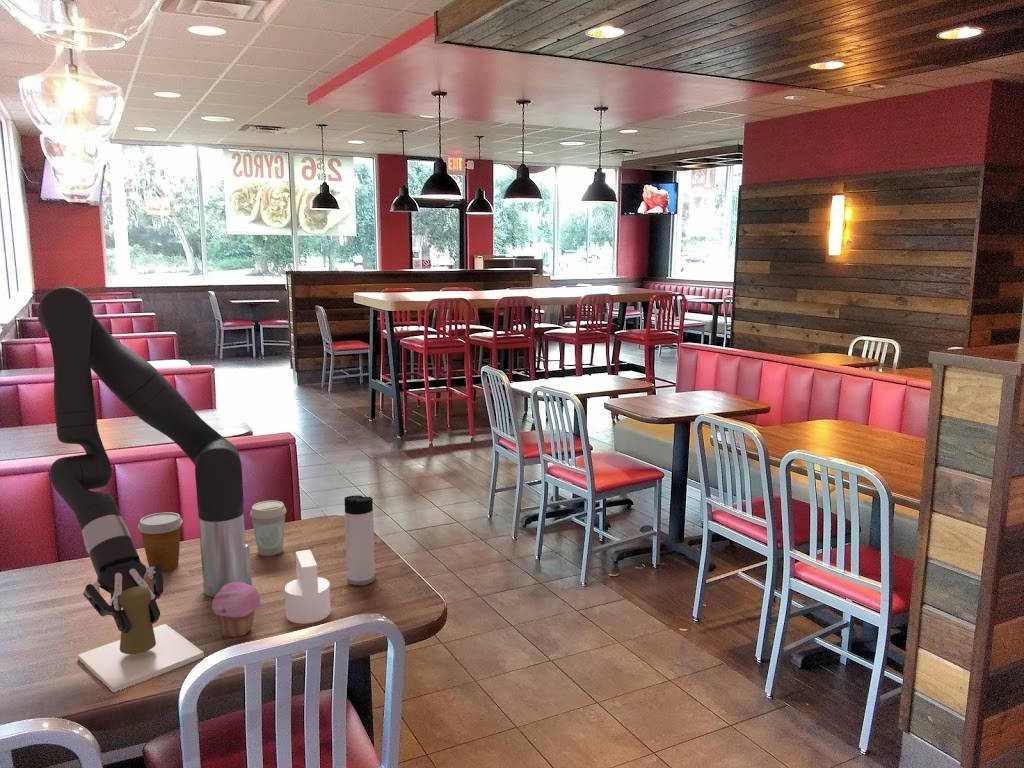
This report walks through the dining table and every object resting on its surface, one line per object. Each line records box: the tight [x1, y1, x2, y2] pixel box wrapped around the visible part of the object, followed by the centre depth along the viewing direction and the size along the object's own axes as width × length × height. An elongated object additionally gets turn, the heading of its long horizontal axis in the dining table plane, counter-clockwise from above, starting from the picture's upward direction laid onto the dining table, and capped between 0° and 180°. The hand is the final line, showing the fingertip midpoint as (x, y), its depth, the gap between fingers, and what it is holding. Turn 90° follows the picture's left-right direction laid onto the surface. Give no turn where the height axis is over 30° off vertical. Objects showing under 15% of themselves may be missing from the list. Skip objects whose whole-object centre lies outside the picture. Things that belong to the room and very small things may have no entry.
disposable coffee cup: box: [137, 511, 184, 573], centre depth 183 cm, size 10×10×12 cm
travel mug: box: [343, 495, 376, 586], centre depth 175 cm, size 6×7×20 cm
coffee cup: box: [249, 500, 287, 557], centre depth 192 cm, size 9×8×12 cm
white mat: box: [77, 623, 205, 693], centre depth 143 cm, size 16×16×1 cm
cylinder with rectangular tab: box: [284, 549, 332, 624], centre depth 160 cm, size 9×9×12 cm
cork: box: [119, 586, 156, 654], centre depth 142 cm, size 6×6×11 cm
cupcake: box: [211, 582, 261, 638], centre depth 152 cm, size 9×9×10 cm
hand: (141, 625), depth 141 cm, fingers closed on cork, 4 cm apart
